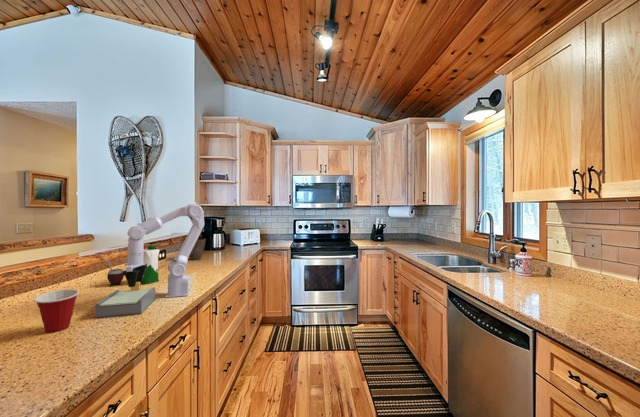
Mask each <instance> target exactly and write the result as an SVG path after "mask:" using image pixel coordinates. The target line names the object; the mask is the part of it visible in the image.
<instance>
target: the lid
mask: <svg viewBox="0 0 640 417" xmlns="http://www.w3.org/2000/svg"><path fill="white" fill-rule="evenodd" d="M150 289H151V288H146V289H145V288H144V289H141V283H140V282H136V284H135V287H130V290H120V292H118V293H117V294H115V295H114V296H112V297H111V298H109V299H108V300H106V301H105V302H103V303H102V304H101V305H100V306H111V305H123V304H135V303H138V300H139V299H140V298H141V297H142V296H144V295H145V294H146V293H147V292H148V291H149V290H150Z"/></svg>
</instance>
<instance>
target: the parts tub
mask: <svg viewBox="0 0 640 417" xmlns="http://www.w3.org/2000/svg"><path fill="white" fill-rule="evenodd" d="M149 289H150V290H149V291H148V292H147V293H146V294H145V295H144V296H142V297H141V298H140V299H139V300H138V303H135V304H123V305H111V306H100V305H101V304H102V303H103V302H105V301H106V300H108V299H109V298H111V297H112V296H114V295H115V294H117V293H118V292H120V291H121V290H120V289H116V290H114V291H113V292H111V293H110V294H108V295H107V296H105V297H104V298H102V299H100V300H99V301H98V302H96V303H95V304H94V312H95V313H94V314H95V316H94V318H95V319H100V318H112V317H124V316H133V315H135V316H136V315H142V314H143V313H144V312H145V311H146V310H147V309H148V308H149V307H150V305H152V303H154V301H156V287H152V288H149Z"/></svg>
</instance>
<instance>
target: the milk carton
mask: <svg viewBox="0 0 640 417" xmlns="http://www.w3.org/2000/svg"><path fill="white" fill-rule="evenodd" d="M159 255H160V249H159V248H157V245H156V244H154V245H153V244H151V245H147V248H144V256H143V260H144V265H147V267H146V269H145V271H144V274H143V278H142V281H141V282H140V285H149V284H154V283H156V282H159Z"/></svg>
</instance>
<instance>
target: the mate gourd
mask: <svg viewBox="0 0 640 417" xmlns="http://www.w3.org/2000/svg"><path fill="white" fill-rule="evenodd" d="M101 259H102V260H103V261H105V262H106V263H107V265H108V266H109V269H110V270H109V271H108V273H107V277H106V278H107V281H108V283H109V285H110V286H109V287H110V288H112V287H115V286H122V281H123V280H124V277H125V276H124V274H123V271H124V270H123V269H122V268H115V269H113V267H112V265H111V264H110V261H109V260H108V259H105V258H101Z"/></svg>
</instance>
